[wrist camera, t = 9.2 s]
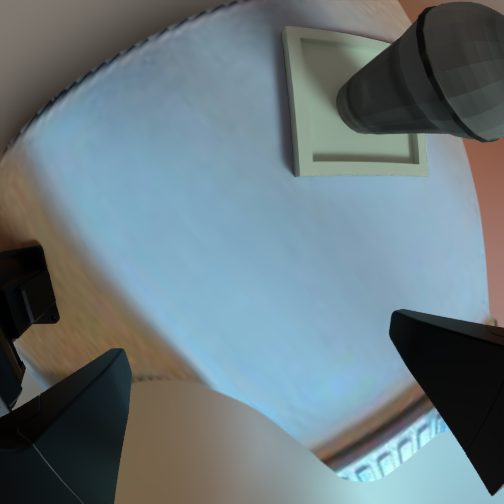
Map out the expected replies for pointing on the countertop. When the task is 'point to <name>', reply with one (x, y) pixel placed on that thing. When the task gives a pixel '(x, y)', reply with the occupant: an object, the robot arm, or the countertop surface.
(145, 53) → the countertop surface
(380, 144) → the tray
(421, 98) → the beverage cup
